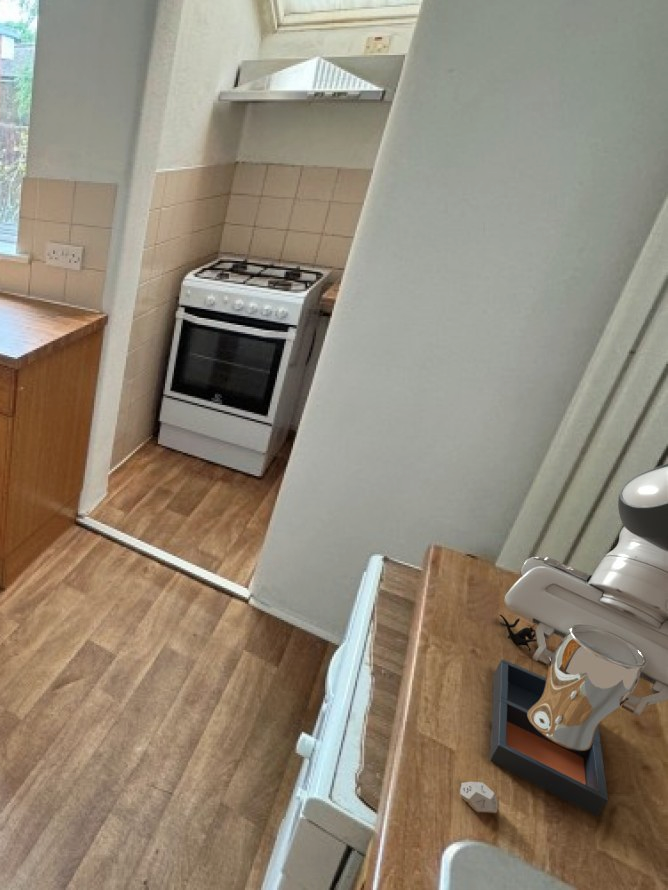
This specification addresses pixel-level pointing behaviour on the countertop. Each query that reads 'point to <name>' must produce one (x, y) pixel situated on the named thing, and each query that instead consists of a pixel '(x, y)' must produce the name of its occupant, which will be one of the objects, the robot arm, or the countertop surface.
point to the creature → (520, 634)
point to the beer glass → (582, 689)
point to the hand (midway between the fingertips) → (583, 685)
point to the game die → (479, 797)
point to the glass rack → (541, 744)
